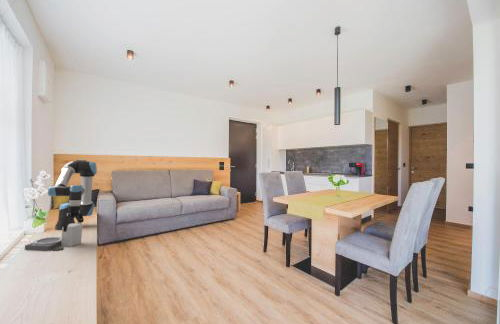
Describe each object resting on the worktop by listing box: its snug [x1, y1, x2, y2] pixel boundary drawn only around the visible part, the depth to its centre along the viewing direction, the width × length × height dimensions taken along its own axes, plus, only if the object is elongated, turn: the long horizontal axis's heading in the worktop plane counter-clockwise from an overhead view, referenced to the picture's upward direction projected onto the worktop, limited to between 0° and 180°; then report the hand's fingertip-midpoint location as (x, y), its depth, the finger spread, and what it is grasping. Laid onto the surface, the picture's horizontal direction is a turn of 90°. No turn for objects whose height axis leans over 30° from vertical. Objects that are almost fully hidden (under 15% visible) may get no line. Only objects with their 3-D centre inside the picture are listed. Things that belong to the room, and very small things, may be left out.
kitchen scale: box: [24, 236, 62, 251], centre depth 164 cm, size 19×16×4 cm
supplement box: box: [60, 222, 84, 247], centre depth 169 cm, size 9×9×15 cm
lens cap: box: [52, 246, 65, 252], centre depth 158 cm, size 6×6×1 cm
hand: (72, 233), depth 169 cm, fingers open, 13 cm apart
